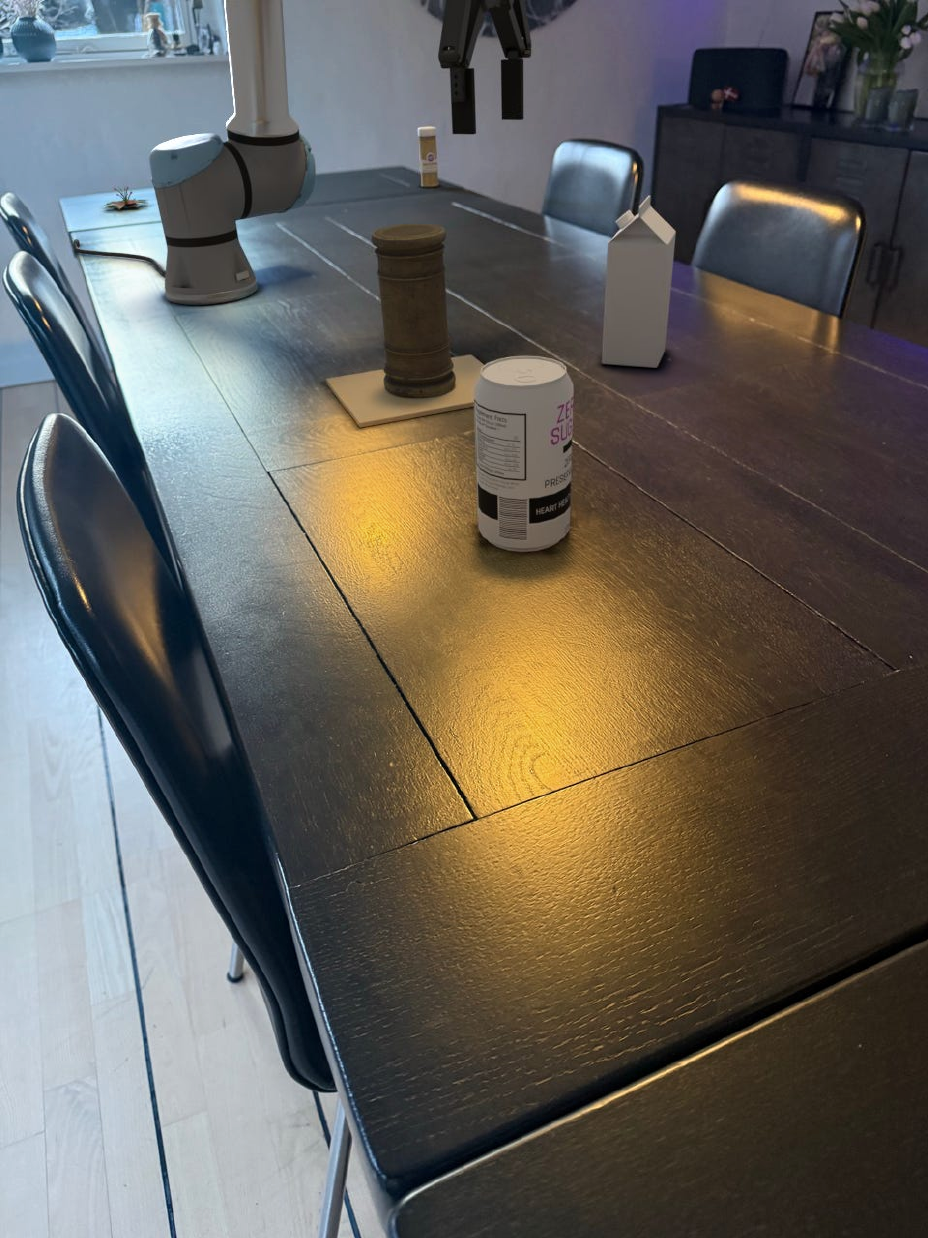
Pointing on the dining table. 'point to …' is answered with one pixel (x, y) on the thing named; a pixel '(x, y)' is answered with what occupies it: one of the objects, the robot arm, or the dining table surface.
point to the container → (414, 310)
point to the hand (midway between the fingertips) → (489, 126)
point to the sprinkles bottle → (428, 156)
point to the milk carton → (638, 289)
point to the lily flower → (124, 201)
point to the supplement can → (523, 451)
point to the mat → (379, 406)
